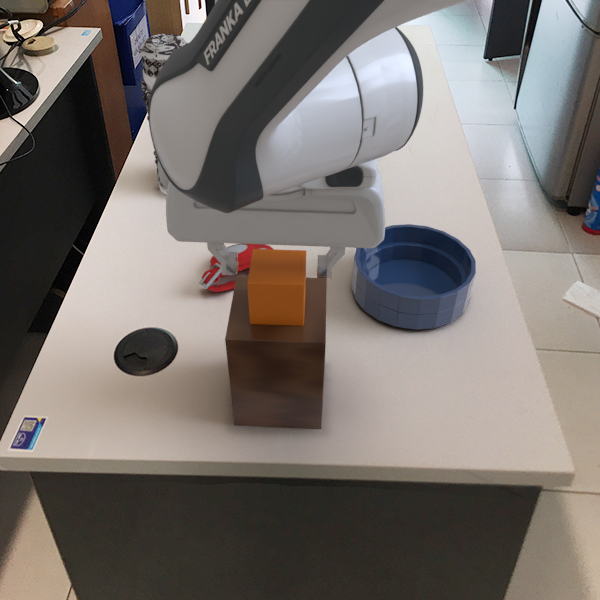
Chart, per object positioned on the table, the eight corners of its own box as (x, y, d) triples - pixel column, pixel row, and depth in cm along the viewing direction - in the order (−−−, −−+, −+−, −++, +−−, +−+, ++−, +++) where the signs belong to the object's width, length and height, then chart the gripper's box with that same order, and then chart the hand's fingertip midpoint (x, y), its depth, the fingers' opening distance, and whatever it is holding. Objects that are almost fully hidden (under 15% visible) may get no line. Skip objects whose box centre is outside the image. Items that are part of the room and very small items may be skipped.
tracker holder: (213, 241, 96) (276, 231, 94) (221, 267, 98) (283, 258, 96) (190, 275, 85) (260, 266, 83) (199, 304, 87) (268, 295, 85)
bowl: (482, 278, 92) (490, 245, 88) (444, 348, 81) (452, 314, 77) (380, 245, 97) (383, 212, 93) (332, 306, 87) (334, 272, 83)
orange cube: (305, 290, 68) (306, 250, 64) (303, 326, 64) (304, 285, 60) (254, 289, 68) (252, 248, 64) (249, 324, 64) (247, 283, 60)
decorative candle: (209, 169, 114) (194, 26, 97) (211, 197, 107) (197, 48, 90) (157, 173, 113) (134, 29, 96) (157, 201, 106) (132, 51, 89)
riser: (322, 363, 79) (326, 278, 70) (321, 428, 71) (325, 342, 62) (243, 360, 79) (236, 275, 70) (233, 425, 72) (224, 339, 62)
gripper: (146, 163, 52) (168, 289, 61) (395, 171, 51) (379, 297, 60) (161, 127, 56) (179, 250, 66) (390, 134, 56) (376, 256, 65)
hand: (277, 273), depth 63 cm, fingers open, 8 cm apart
